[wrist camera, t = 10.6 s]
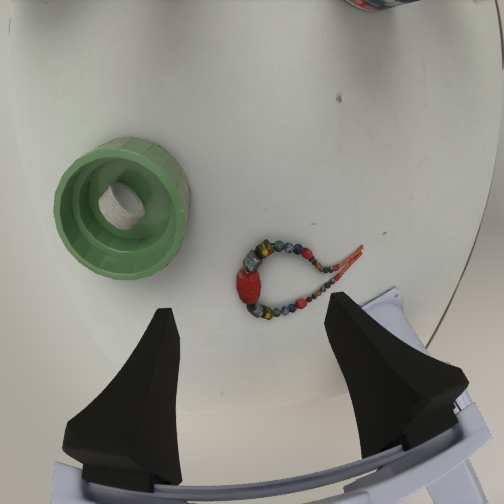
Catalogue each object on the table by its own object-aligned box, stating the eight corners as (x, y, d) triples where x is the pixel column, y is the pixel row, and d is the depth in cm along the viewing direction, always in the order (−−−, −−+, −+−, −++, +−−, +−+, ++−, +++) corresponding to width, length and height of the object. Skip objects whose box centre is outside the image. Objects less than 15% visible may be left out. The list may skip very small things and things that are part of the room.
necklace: (229, 240, 20) (234, 255, 19) (361, 219, 22) (373, 230, 20) (239, 314, 25) (243, 331, 23) (348, 290, 27) (357, 303, 25)
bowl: (213, 208, 19) (214, 236, 16) (128, 265, 21) (116, 298, 17) (142, 110, 15) (123, 116, 11) (59, 187, 16) (32, 210, 13)
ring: (149, 205, 18) (140, 225, 15) (137, 217, 18) (126, 238, 16) (119, 175, 16) (104, 190, 14) (107, 188, 17) (91, 206, 14)
